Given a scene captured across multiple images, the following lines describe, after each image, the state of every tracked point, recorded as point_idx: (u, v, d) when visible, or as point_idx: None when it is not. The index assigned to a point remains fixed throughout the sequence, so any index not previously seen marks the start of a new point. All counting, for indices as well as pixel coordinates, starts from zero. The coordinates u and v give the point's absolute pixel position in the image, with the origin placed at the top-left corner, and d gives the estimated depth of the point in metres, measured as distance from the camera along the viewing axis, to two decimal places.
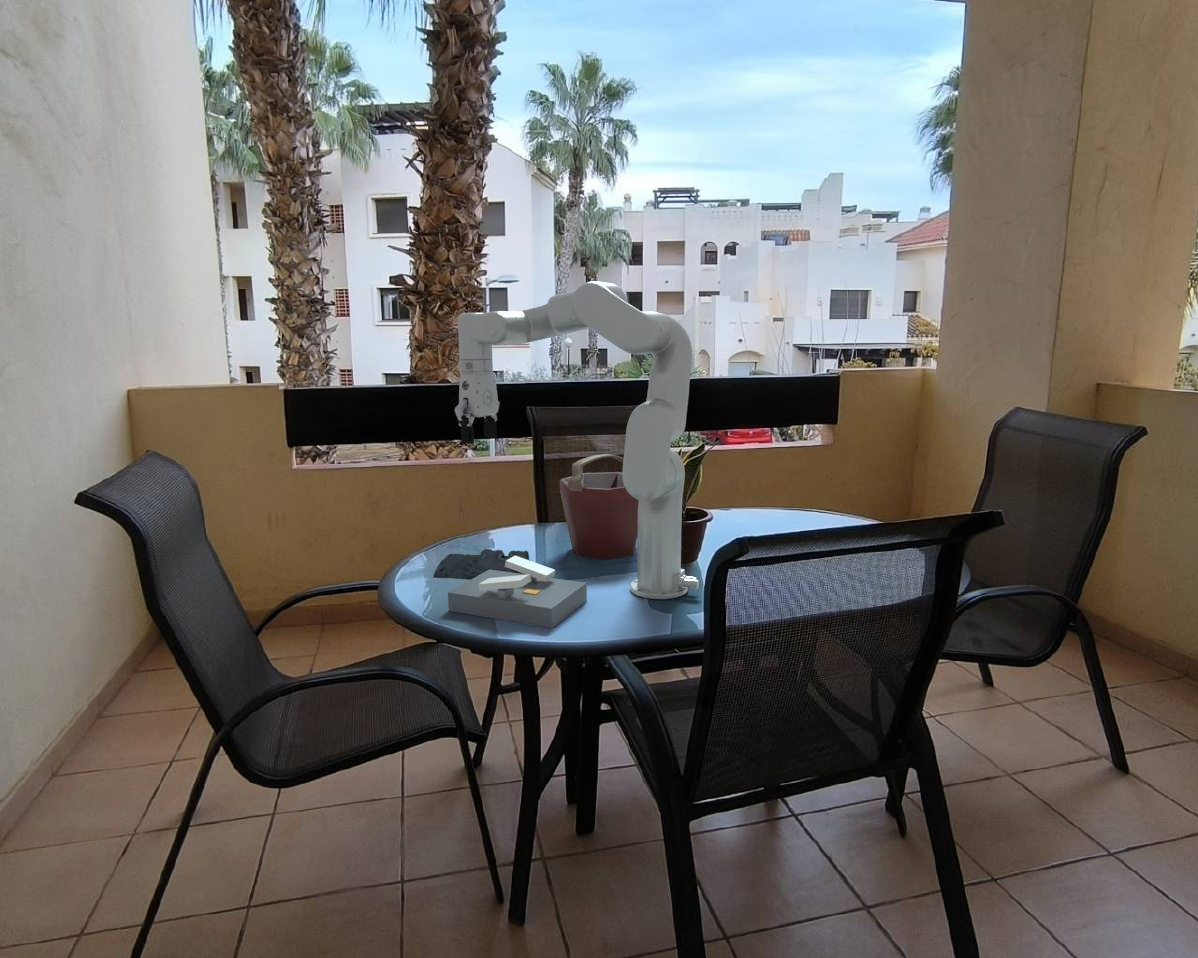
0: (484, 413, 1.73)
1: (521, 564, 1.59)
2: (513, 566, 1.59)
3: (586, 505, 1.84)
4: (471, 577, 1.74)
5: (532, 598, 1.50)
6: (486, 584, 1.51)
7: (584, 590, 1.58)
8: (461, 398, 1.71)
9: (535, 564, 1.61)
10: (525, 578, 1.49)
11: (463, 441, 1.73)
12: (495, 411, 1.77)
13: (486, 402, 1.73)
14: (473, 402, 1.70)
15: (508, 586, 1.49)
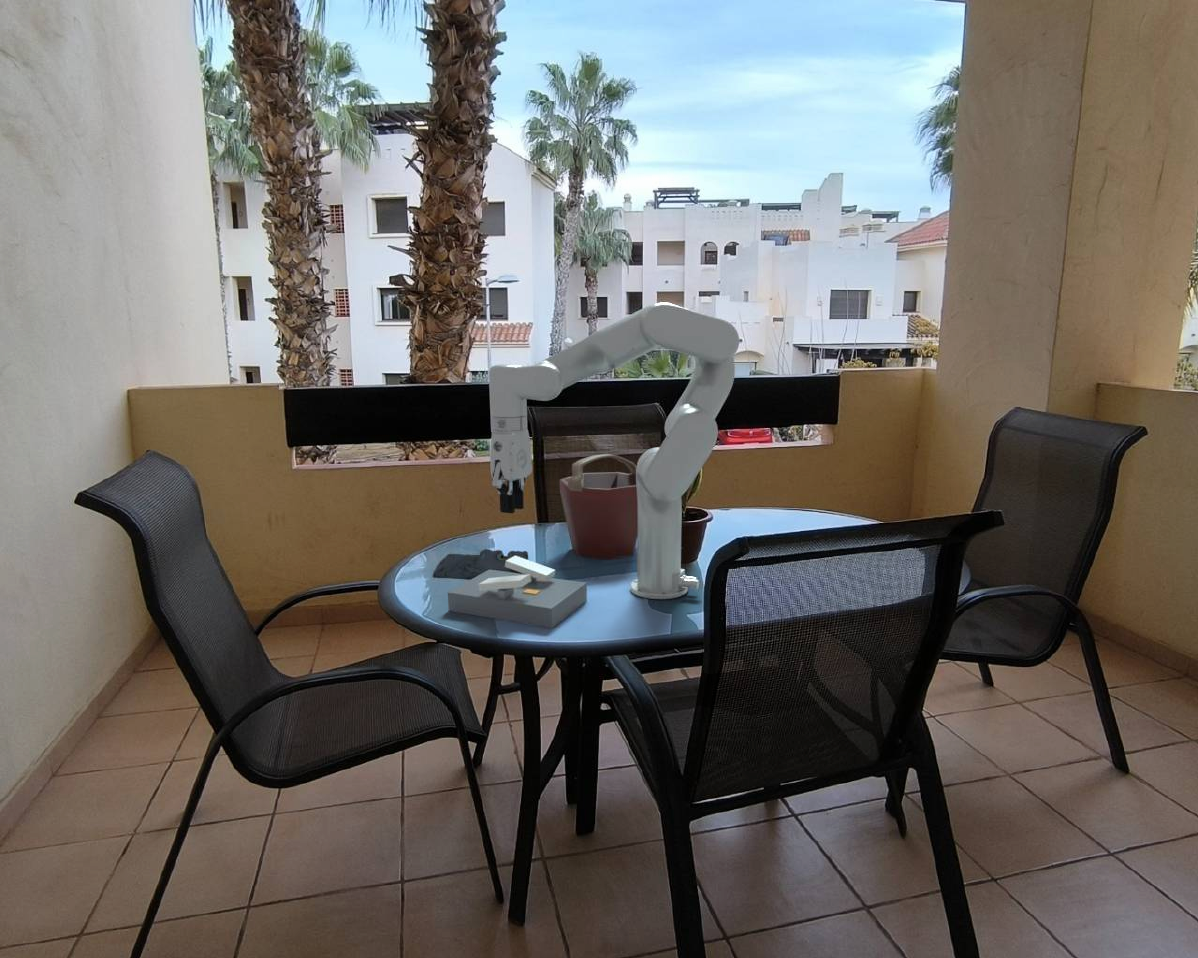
0: (518, 476, 1.55)
1: (521, 564, 1.59)
2: (513, 566, 1.59)
3: (586, 505, 1.84)
4: (470, 577, 1.74)
5: (532, 598, 1.50)
6: (486, 584, 1.51)
7: (584, 590, 1.58)
8: (493, 460, 1.53)
9: (535, 564, 1.61)
10: (525, 578, 1.49)
11: (502, 510, 1.57)
12: (529, 472, 1.59)
13: (520, 463, 1.55)
14: (506, 465, 1.52)
15: (508, 586, 1.49)
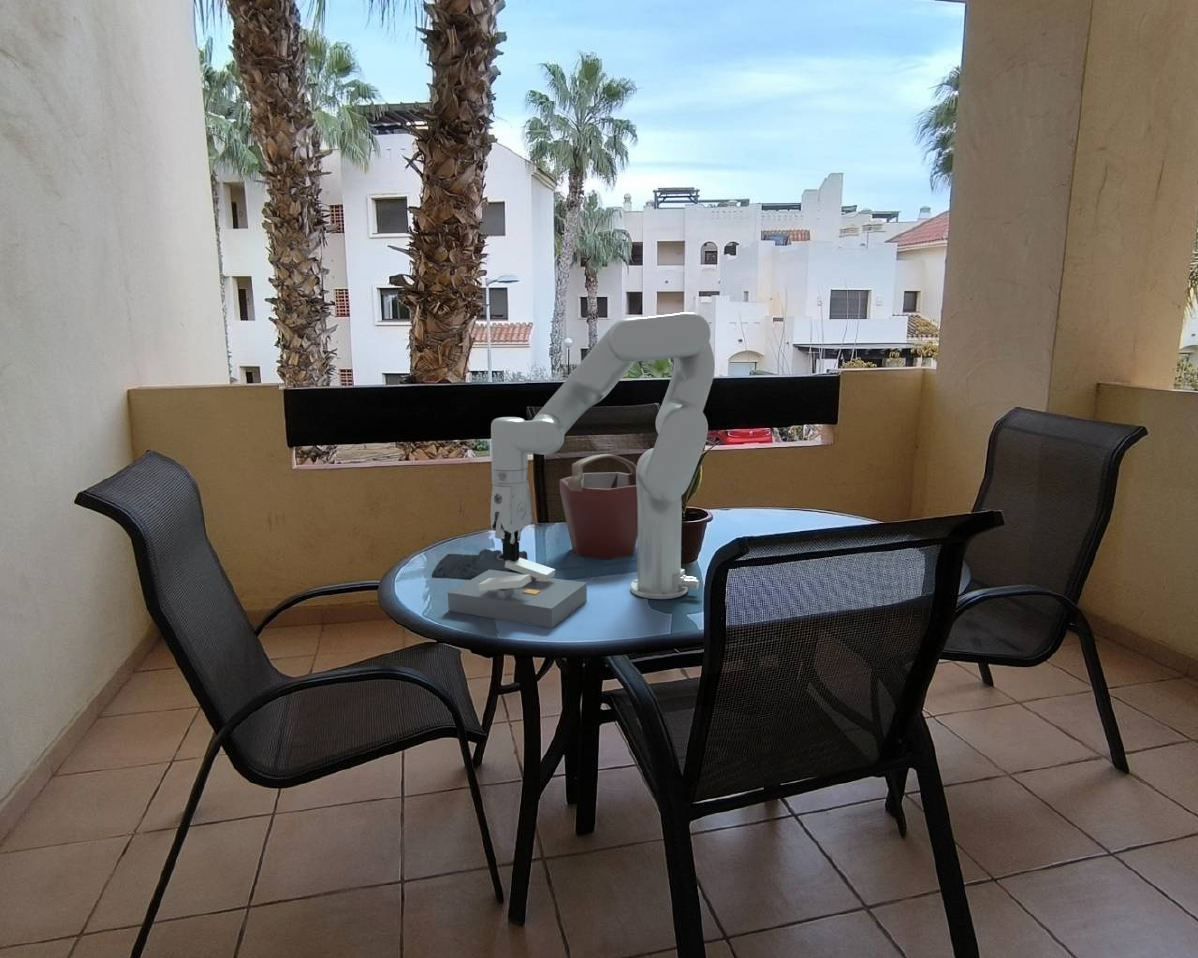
0: (518, 527, 1.57)
1: (520, 564, 1.59)
2: (513, 566, 1.59)
3: (586, 505, 1.84)
4: (469, 577, 1.74)
5: (532, 598, 1.50)
6: (486, 584, 1.51)
7: (584, 590, 1.58)
8: (493, 512, 1.55)
9: (535, 564, 1.61)
10: (525, 578, 1.49)
11: (505, 558, 1.61)
12: (529, 522, 1.61)
13: (520, 515, 1.58)
14: (506, 517, 1.54)
15: (508, 586, 1.49)
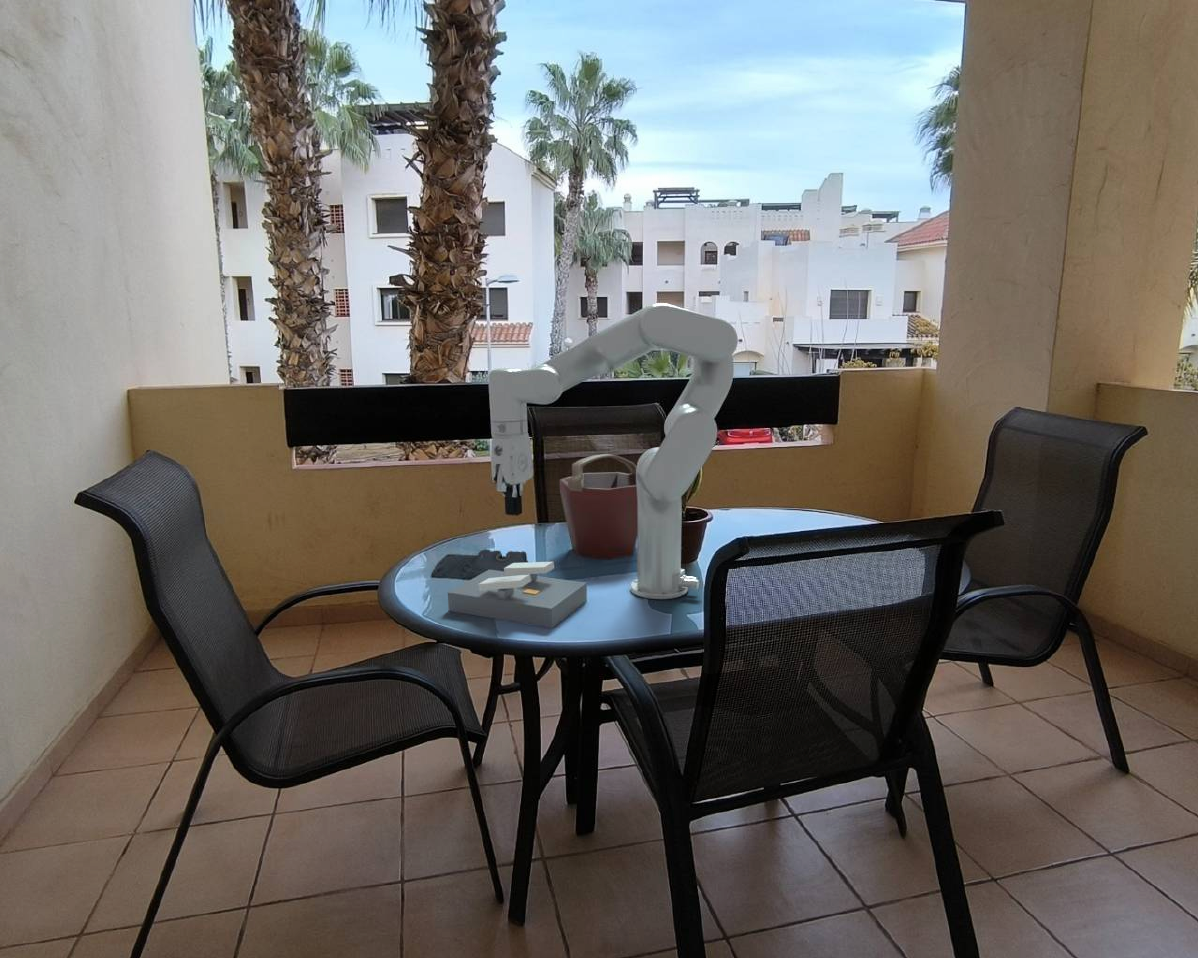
0: (519, 479, 1.55)
1: (519, 566, 1.60)
2: (512, 571, 1.60)
3: (586, 505, 1.84)
4: (468, 578, 1.74)
5: (532, 598, 1.50)
6: (486, 584, 1.51)
7: (584, 590, 1.58)
8: (493, 464, 1.53)
9: (533, 563, 1.61)
10: (525, 578, 1.49)
11: (507, 512, 1.59)
12: (530, 475, 1.59)
13: (521, 467, 1.56)
14: (507, 469, 1.52)
15: (508, 586, 1.49)
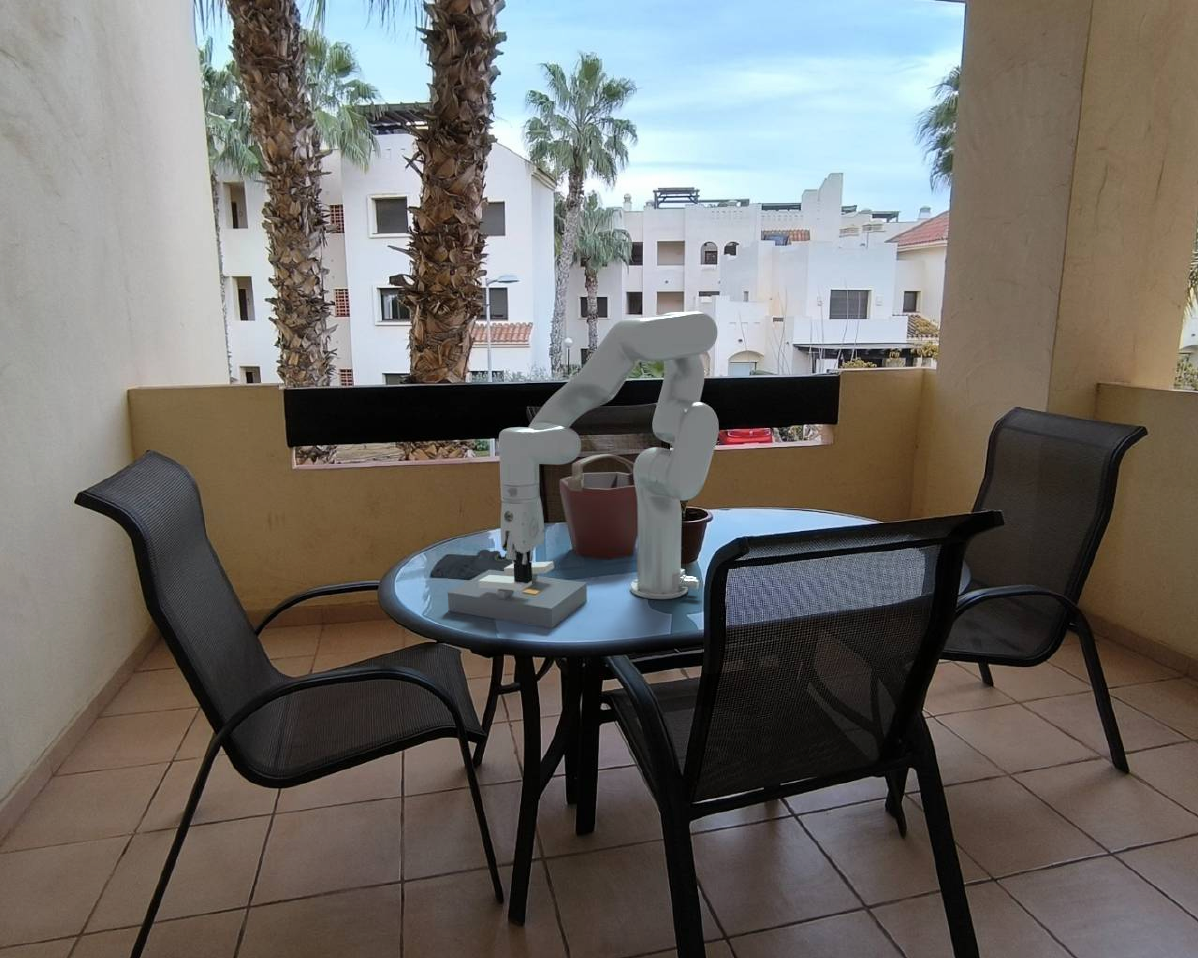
0: (530, 546, 1.45)
1: None
2: (512, 571, 1.60)
3: (586, 505, 1.84)
4: (466, 578, 1.74)
5: (532, 598, 1.50)
6: (486, 582, 1.50)
7: (584, 590, 1.58)
8: (503, 531, 1.43)
9: (533, 563, 1.61)
10: None
11: (516, 580, 1.49)
12: (541, 540, 1.49)
13: (532, 533, 1.45)
14: (518, 537, 1.42)
15: (508, 587, 1.49)
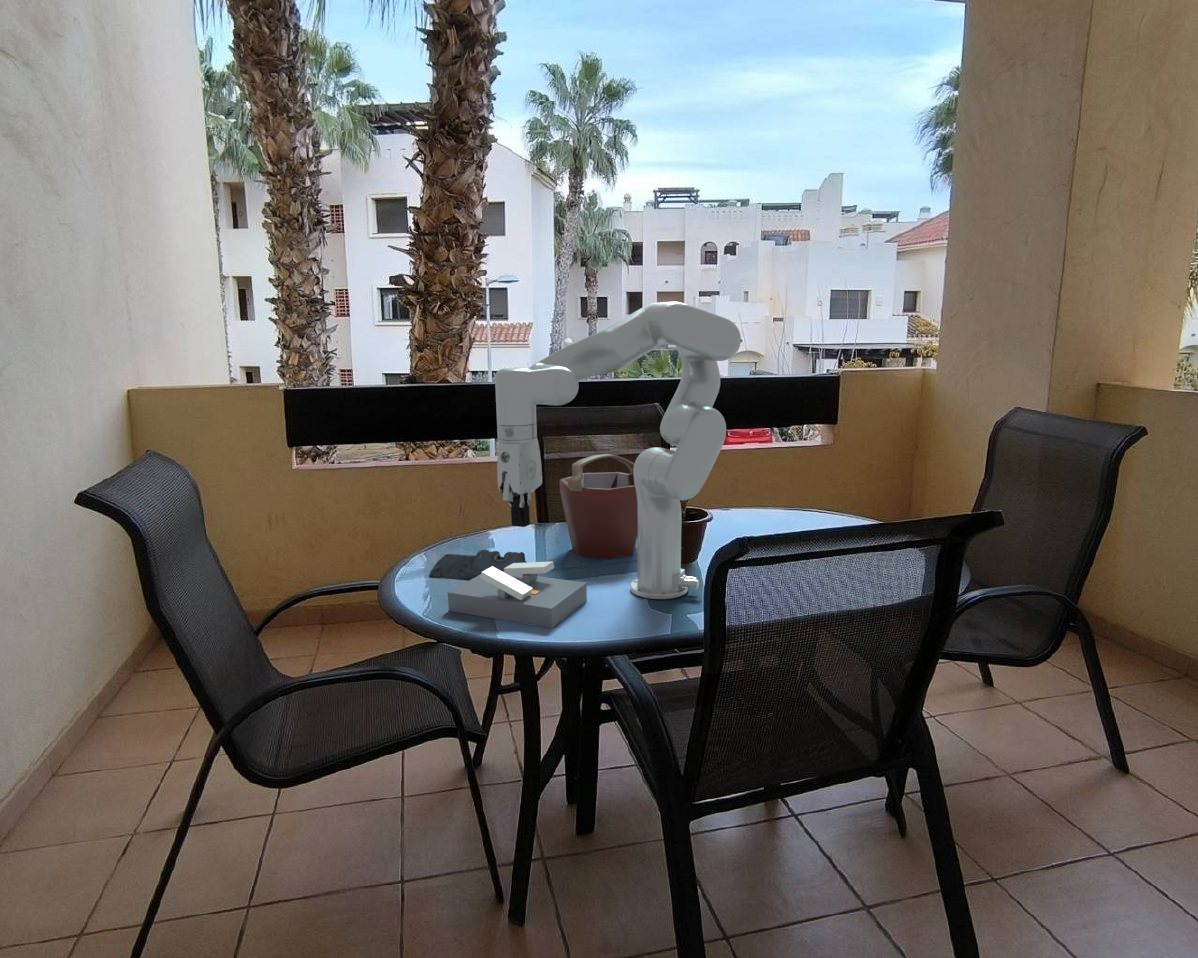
0: (528, 488, 1.43)
1: (519, 566, 1.60)
2: (512, 571, 1.60)
3: (586, 505, 1.84)
4: (466, 578, 1.73)
5: (532, 598, 1.50)
6: (489, 577, 1.50)
7: (584, 590, 1.58)
8: (500, 472, 1.41)
9: (533, 563, 1.61)
10: (527, 592, 1.49)
11: (514, 523, 1.47)
12: (539, 484, 1.47)
13: (529, 475, 1.44)
14: (515, 477, 1.40)
15: (509, 592, 1.49)
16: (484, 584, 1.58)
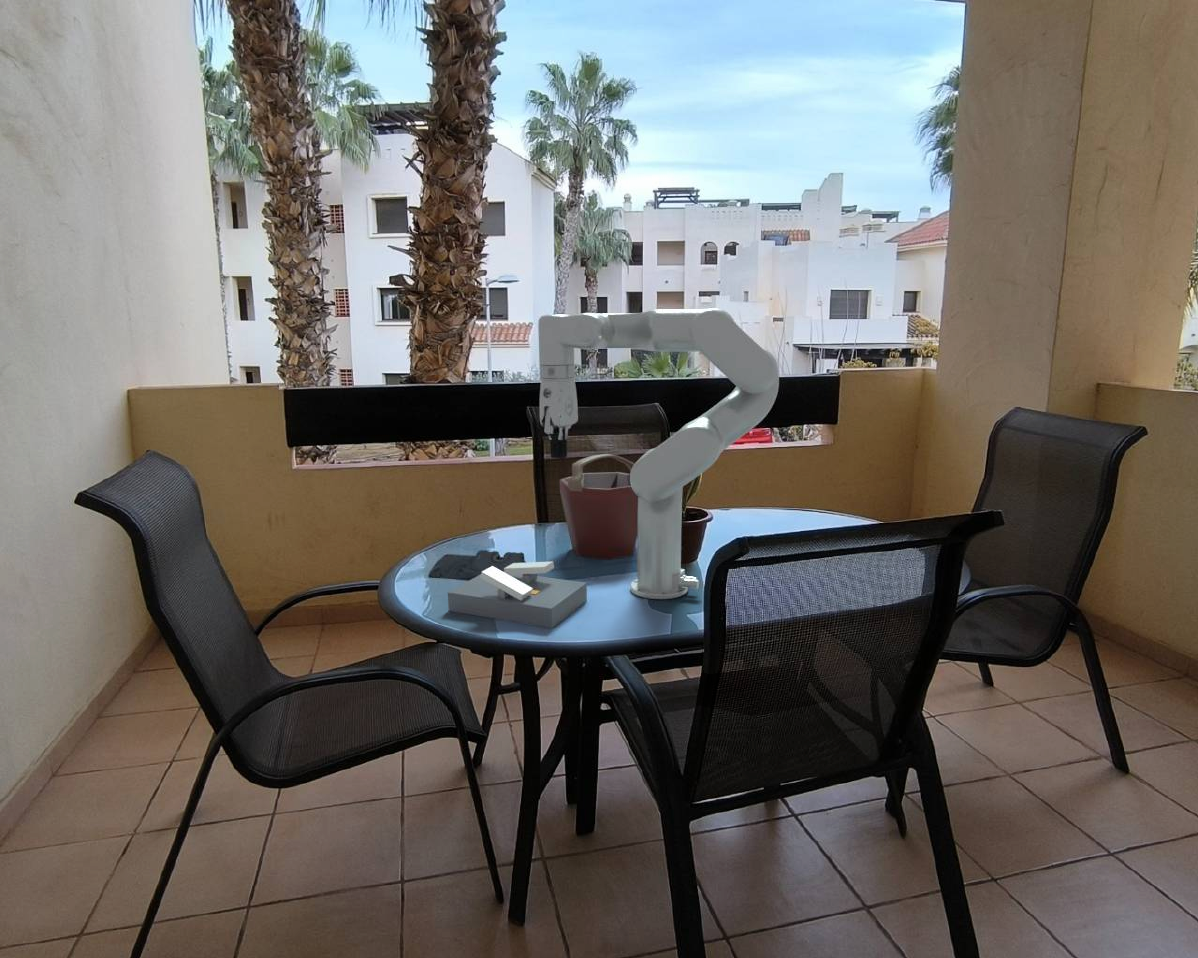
0: (566, 422, 1.61)
1: (519, 566, 1.60)
2: (512, 571, 1.60)
3: (586, 505, 1.84)
4: (465, 578, 1.73)
5: (532, 598, 1.50)
6: (489, 577, 1.50)
7: (584, 590, 1.58)
8: (542, 407, 1.58)
9: (533, 563, 1.61)
10: (527, 592, 1.49)
11: (553, 455, 1.64)
12: (575, 420, 1.65)
13: (567, 411, 1.61)
14: (555, 411, 1.57)
15: (509, 592, 1.49)
16: (484, 584, 1.58)
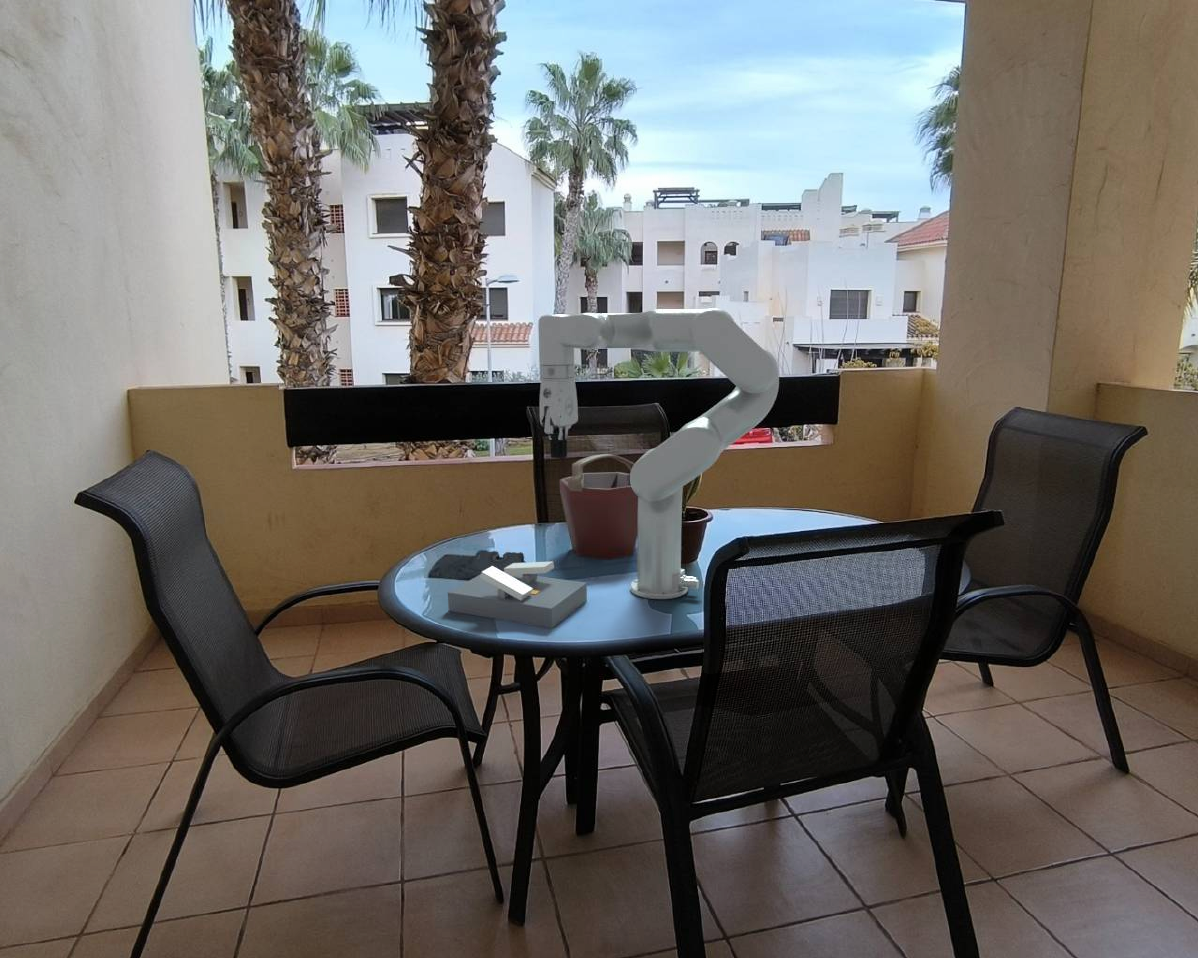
0: (566, 422, 1.61)
1: (519, 566, 1.60)
2: (512, 571, 1.60)
3: (586, 505, 1.84)
4: (464, 578, 1.73)
5: (532, 598, 1.50)
6: (489, 577, 1.50)
7: (584, 590, 1.58)
8: (542, 407, 1.58)
9: (533, 563, 1.61)
10: (527, 592, 1.49)
11: (553, 455, 1.64)
12: (575, 420, 1.65)
13: (568, 411, 1.61)
14: (555, 411, 1.57)
15: (509, 592, 1.49)
16: (484, 584, 1.58)
